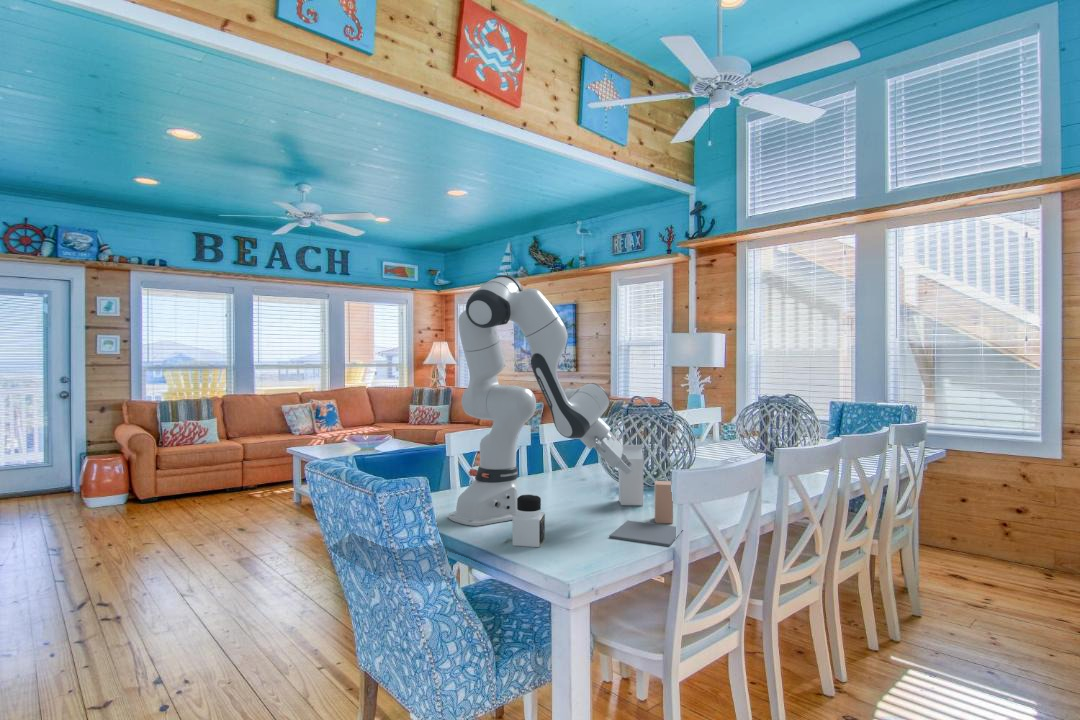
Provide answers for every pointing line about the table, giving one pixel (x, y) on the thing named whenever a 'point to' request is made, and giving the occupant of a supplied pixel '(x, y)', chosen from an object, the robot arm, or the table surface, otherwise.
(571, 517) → the table surface
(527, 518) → the medicine bottle
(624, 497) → the milk carton
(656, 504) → the tan upright wooden block
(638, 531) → the mat
